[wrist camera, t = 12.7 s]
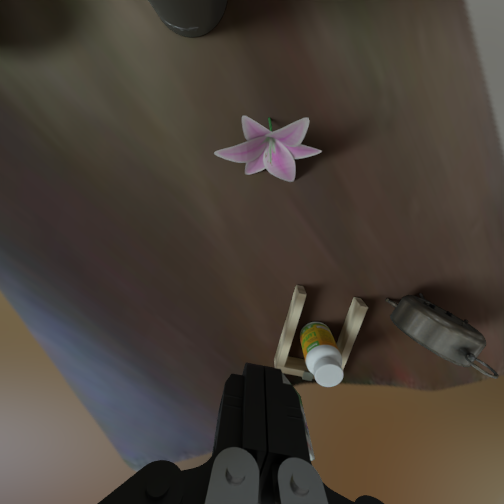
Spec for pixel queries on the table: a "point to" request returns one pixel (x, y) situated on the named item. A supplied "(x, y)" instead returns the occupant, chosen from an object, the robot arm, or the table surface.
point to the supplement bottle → (321, 354)
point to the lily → (270, 148)
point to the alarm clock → (439, 331)
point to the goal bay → (281, 358)
